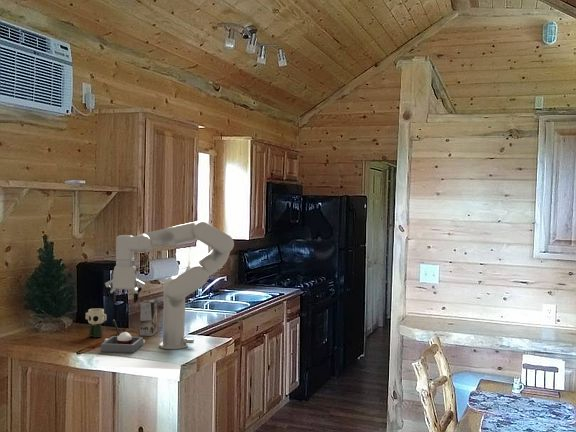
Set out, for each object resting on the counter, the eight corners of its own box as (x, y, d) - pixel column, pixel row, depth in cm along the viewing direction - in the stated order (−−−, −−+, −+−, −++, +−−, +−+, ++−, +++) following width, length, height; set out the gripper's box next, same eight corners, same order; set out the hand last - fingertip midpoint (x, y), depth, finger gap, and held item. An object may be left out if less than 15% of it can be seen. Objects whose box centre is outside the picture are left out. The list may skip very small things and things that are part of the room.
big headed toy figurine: (81, 337, 288) (81, 310, 288) (89, 334, 295) (89, 307, 295) (102, 339, 286) (102, 311, 285) (109, 336, 293) (110, 309, 292)
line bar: (144, 343, 281) (145, 340, 281) (143, 344, 279) (143, 341, 279) (106, 341, 282) (106, 338, 282) (104, 342, 280) (104, 339, 280)
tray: (143, 344, 278) (143, 337, 278) (133, 353, 263) (133, 345, 263) (112, 343, 278) (112, 336, 278) (100, 352, 263) (101, 343, 263)
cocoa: (136, 347, 272) (138, 320, 272) (128, 350, 266) (130, 322, 266) (118, 344, 275) (120, 317, 275) (109, 347, 269) (111, 319, 269)
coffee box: (152, 336, 295) (153, 302, 295) (139, 335, 295) (140, 302, 295) (157, 331, 304) (157, 299, 304) (144, 331, 305) (144, 299, 304)
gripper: (146, 262, 273) (146, 301, 274) (108, 261, 274) (108, 300, 275) (142, 264, 266) (141, 304, 267) (102, 263, 267) (102, 303, 267)
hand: (124, 302), depth 271 cm, fingers open, 9 cm apart
